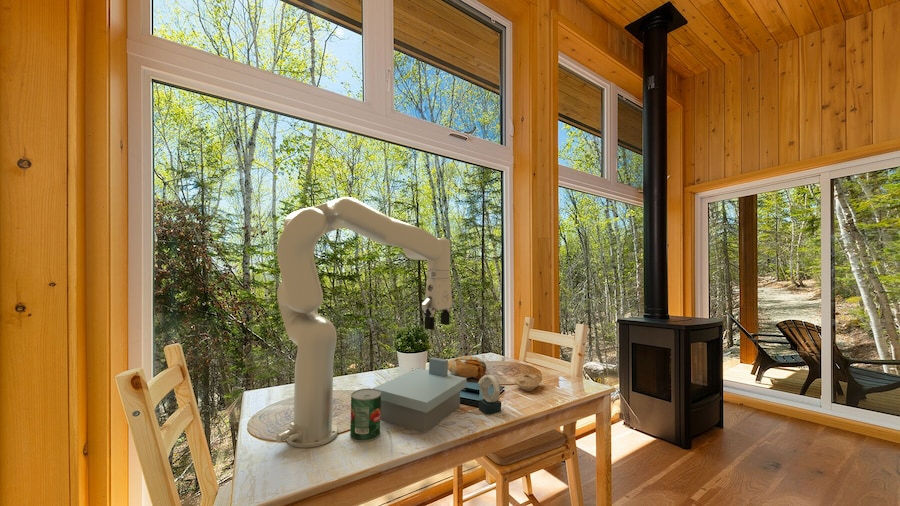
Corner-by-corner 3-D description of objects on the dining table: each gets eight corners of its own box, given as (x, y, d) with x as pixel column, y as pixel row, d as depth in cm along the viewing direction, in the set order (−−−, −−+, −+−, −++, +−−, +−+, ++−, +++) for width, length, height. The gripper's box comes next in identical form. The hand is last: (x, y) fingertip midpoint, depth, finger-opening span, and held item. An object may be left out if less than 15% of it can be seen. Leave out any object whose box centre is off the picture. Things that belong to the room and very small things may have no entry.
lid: (426, 412, 97) (427, 383, 97) (372, 397, 106) (372, 371, 106) (466, 386, 117) (467, 362, 117) (417, 375, 126) (418, 353, 126)
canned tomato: (348, 430, 100) (349, 390, 100) (376, 425, 103) (377, 386, 103) (352, 444, 92) (353, 401, 92) (383, 439, 95) (384, 396, 96)
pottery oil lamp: (550, 386, 136) (551, 372, 132) (527, 403, 130) (527, 389, 127) (533, 372, 142) (533, 359, 139) (510, 387, 136) (510, 374, 133)
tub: (424, 433, 99) (425, 403, 99) (379, 419, 107) (379, 391, 107) (459, 407, 116) (460, 382, 116) (418, 396, 124) (419, 373, 124)
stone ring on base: (489, 404, 119) (490, 370, 119) (504, 414, 112) (505, 378, 112) (475, 407, 116) (475, 373, 117) (489, 417, 109) (489, 381, 109)
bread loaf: (502, 385, 139) (468, 394, 131) (472, 366, 157) (441, 372, 150) (502, 365, 138) (468, 372, 131) (472, 348, 157) (441, 354, 150)
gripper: (433, 276, 112) (432, 332, 112) (460, 274, 127) (459, 323, 127) (413, 275, 116) (412, 329, 116) (442, 273, 131) (441, 321, 130)
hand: (437, 326), depth 121 cm, fingers open, 9 cm apart
